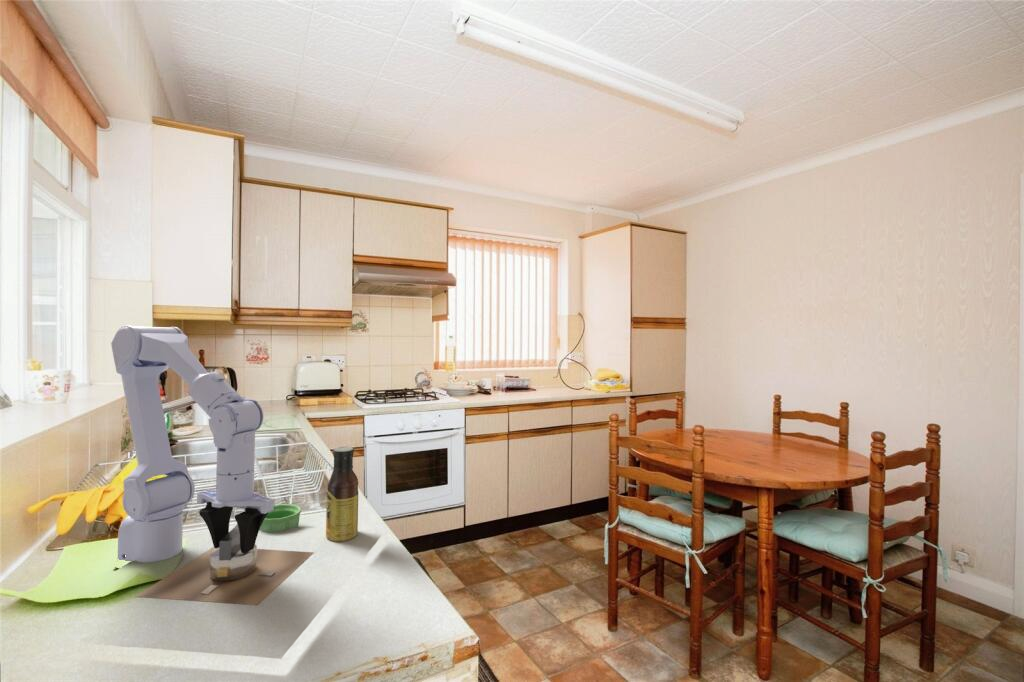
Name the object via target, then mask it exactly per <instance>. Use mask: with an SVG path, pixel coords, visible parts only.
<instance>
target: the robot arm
mask: <svg viewBox="0 0 1024 682" xmlns="http://www.w3.org/2000/svg"><path fill="white" fill-rule="evenodd" d="M110 345H111V350H112V356H113V360H114V365H115V366H114V367H115V371H116V373H117V374H119V375H120V376H121V382H122V386H123V393H124V398H125V403H126V409H127V413H128V419H129V424H130V431H131V435H132V441H133V446H134V451H135V457H136V462H137V466H136V467H135V468H134V469H133V470H132V471H131V472H130V473H129V474H128V475H127V476H125V478H124V479H123V481H122V484H123V495H122V508H123V510H124V512H125V513H126V515H127V516H126V517H125V518H123V520H122V521H121V524H120V525H119V528H118V533H117V560H118V559H119V560H125V561H133V562H138V563H155V562H160V561H164V560H167V559H170V558H173V557H175V556H177V555H179V554H180V553H181V552H182V550H183V527H184V526H183V524H184V522H183V521H184V517H183V516H184V511H185V510H187V509H188V504H189V503H190V502H191V501H192V500H193V498H194V496H195V491H196V488H195V487H196V485H195V482H194V480H193V478H192V477H191V474H190V473H189V469H188V466H187V464H186V463H184V462H181V461H180V460H178V459H176V458H174V457H173V454H172V450H171V449H172V448H171V445H170V439H169V433H168V430H167V429H168V428H167V424H166V418H165V413H164V408H163V402H162V397H161V392H160V388H159V387H160V386H159V383H158V378H159V376H160V375H161V374H162V373H164V372H165V371H168V369H171V370H172V371H173V372H175V373H176V374H177V375H178V376H179V377H180V378H181V379H183V381H184V382H186V383H187V384H188V385H189V388H188V396H190V397H191V399H192V400H193V401H194V402H195V403H196V404H197V405H198V406H199V407H200V408H201V410H203V412H204V413H205V414H207V416H208V417H209V419H208V427H209V429H210V431H211V433H212V436H213V437H212V438H213V444H214V447H216V473H215V477H216V479H215V484H216V485H215V489H204V490H202V491H198V492H197V493H196V496H197V497H196V498H197V499H196V503H197V504H198V505H203V504H206V505H205V507H203V508H201V509H200V510H199V516H200V517H201V518H202V520H203V522H204V523H205V525H206V526H207V529H208V531H209V535H210V538H211V541H212V545H213V547H214V548H219V546H220V540H221V539H222V538H224V537H225V536H226V535H227V534H228V533H229V532H230V521H231V517H232V512H233V510H234V508H237V509H244V511H242V512H240V513H237V514H235V515H234V520H235V521H236V525H238V528H239V533H240V549H241V553H247V552H249V551H250V550H252V549H254V545H256V541H257V537H258V534H259V532H260V530H259V529H260V527H261V525H262V523H263V521H264V519H265V517H266V516H267V514H268V513H269V512H270V511H272V510H274V505H275V502H274V501H275V499H274V498H270V497H267V496H264V495H262V494H260V493H257V492H255V491H254V490H255V457H256V453H255V452H256V450H255V449H256V431H257V430H259V429H260V428H261V426H262V425H263V422H264V411H263V408H262V407H261V405H260V404H259V402H258V401H257V400H255V399H253V398H246V396H241V394H239V393H238V392H237V391H236V390H235V389H234V387H232V386H231V385H230V383H228V381H227V380H225V379H226V377H224V376H223V374H220V373H216V372H208V370H206V368H205V367H204V365H203V364H202V363H201V362H200V361H199V359H198V358H197V357H196V355H195V354H194V353H193V352H192V350H191V349H190V347H189V337H188V336H187V335H186V334H185V333H184V332H183V331H182V329H181V328H179V327H177V326H170V327H169V326H167V327H163V326H132V325H122V326H121V327H120V328H119V329H118V330H116V333H115V334H114V337H113V339H112V342H111V343H110ZM159 476H162V477H159ZM153 477H159V478H156V479H151V478H153ZM149 479H150V480H149ZM125 555H126V557H125Z"/></svg>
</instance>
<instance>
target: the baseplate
mask: <svg viewBox="0 0 1024 682" xmlns="http://www.w3.org/2000/svg"><path fill="white" fill-rule="evenodd" d="M215 549H216V548H214V546H212V547H211V548H209V549H208V550H206V551H205V552H203V553H201V554H200V555H198V556H197V557H195V558H193V559H192V560H190V561H189V562H188V563H186V564H184V565H183V566H181V567H179V568H178V569H175V570H174V571H173V572H172V573H170V574H168V575H166V576H165V577H164V578H162V579H161V580H159V581H157V582H156V583H154V584H153V585H150V587H148V588H147V589H144V590H143V591H142V592H140V593H138V594H137V595H135V598H149V599H150V598H151V599H163V600H174V601H188V602H189V601H191V602H192V601H193V602H204V603H218V604H234V605H246V606H259V605H260V604H261V603H262V602H263V601H264V600H265V599H267V597H268V596H270V595H271V593H273V592H274V591H275V590H276V589H277V588H278V587H279V586H280V585H281V584H282V583H284V581H285V580H286V579H288V577H290V576H291V575H292V574H293V573H294V572H295V571H296V570H297V569H298V568H299V567H300V566H302V564H304V562H306V561H307V560H308V559H309V558H310V557H311V556H312V555H313V554H314V553H315V552H314V551H313V552H312V551H299V550H297V551H296V550H295V551H294V550H282V549H268V548H267V549H266V548H257V555H256V569H255V570H254V571H253V572H252V573H250V574H249V575H247V576H244V577H242V578H238V579H234V580H228V581H218V580H214V579H212V578H211V577H210V554H211V552H212V551H213V550H215Z"/></svg>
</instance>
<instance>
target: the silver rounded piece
mask: <svg viewBox="0 0 1024 682" xmlns="http://www.w3.org/2000/svg"><path fill="white" fill-rule="evenodd" d="M257 549H258V547H257V544H255V545H254V549H252V550H250V551H249V552H247V553H241V549H240V533H239V528H238V524H236V525H235V526H234V527H233V528H232V529H231V530H229V533H228V534H227V535H226V536H225V537H224V538H222V539H221V540H220V546H219V548H216V549H215V550H213V551H212V552H211V554H210V577H211V578H212V579H214V580H218V581H228V580H234V579H238V578H242V577H244V576H247V575H249V574H250V573H252V572H253V571H254V570H255V569H256V555H257Z"/></svg>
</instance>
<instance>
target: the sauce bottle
mask: <svg viewBox="0 0 1024 682" xmlns="http://www.w3.org/2000/svg"><path fill="white" fill-rule="evenodd" d="M354 452H355V449H354V447H352V446H349V445H348V446H338V447H337V446H336V447H335V448H333V450H332V456H333V467H332V469H333V470H332V472H331V474H330V478H329V481H328V484H327V486H326V505H325V507H326V510H325V515H326V516H325V517H326V518H325V537H326V539H327V540H328V541H331V542H335V543H336V542H337V543H338V542H339V543H340V542H346V541H349V540H352V539H354V538H356V536H357V535H358V530H359V528H358V526H359V479H358V476H357V475H356V473H355V472H354V470H353V468H354V465H353V463H354V462H353V461H354V459H353V458H354V454H355V453H354Z"/></svg>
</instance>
